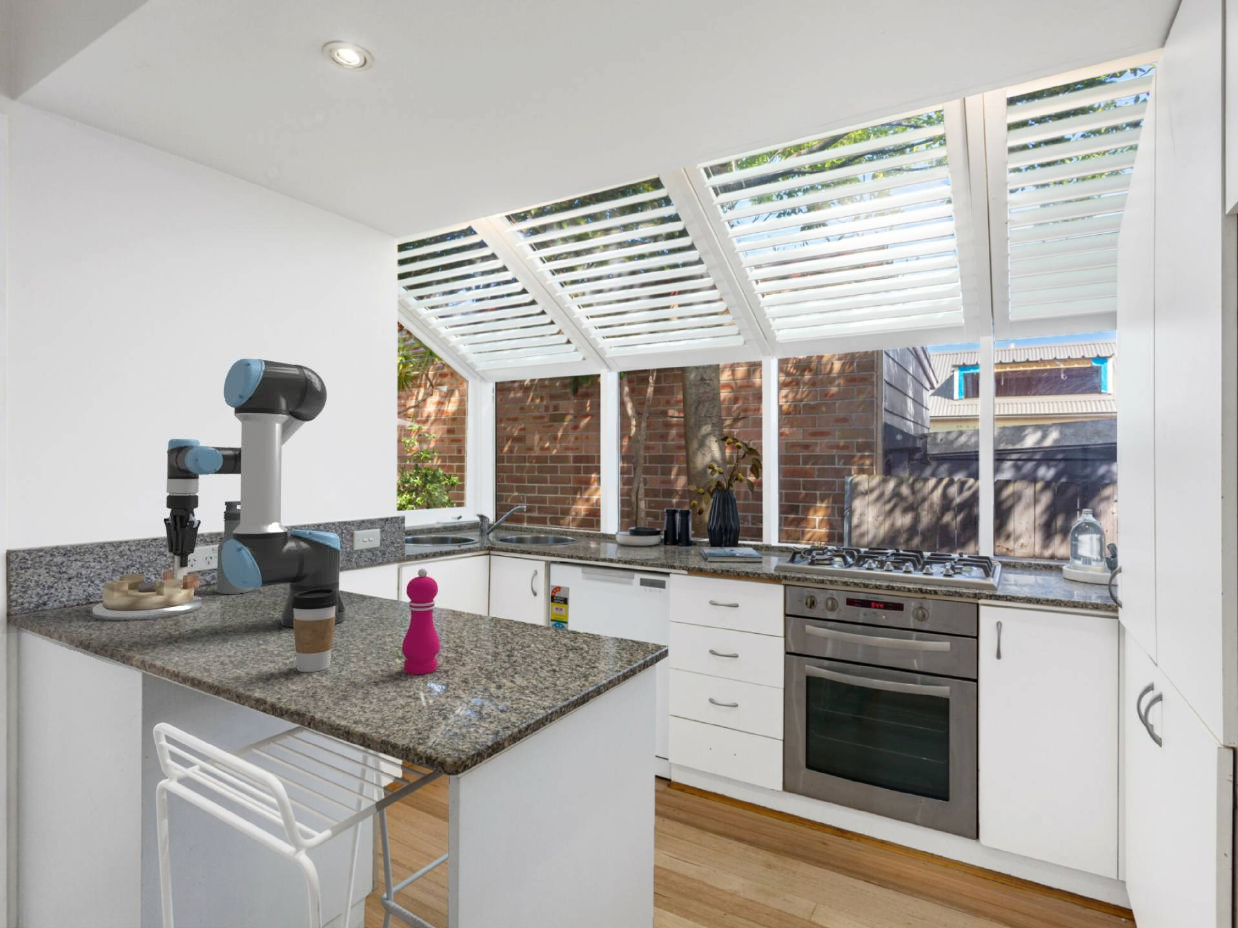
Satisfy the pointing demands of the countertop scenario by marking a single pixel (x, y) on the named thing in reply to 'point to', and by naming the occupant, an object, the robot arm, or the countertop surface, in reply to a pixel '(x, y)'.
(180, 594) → the ring nut
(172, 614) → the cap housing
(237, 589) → the water bottle
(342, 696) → the countertop surface
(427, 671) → the pepper mill
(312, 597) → the coffee cup
